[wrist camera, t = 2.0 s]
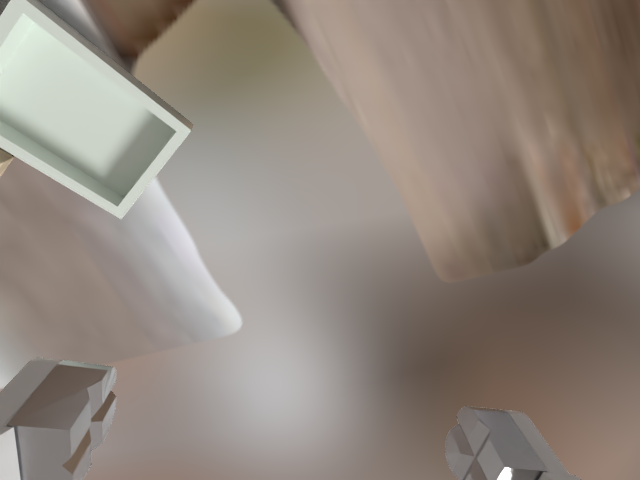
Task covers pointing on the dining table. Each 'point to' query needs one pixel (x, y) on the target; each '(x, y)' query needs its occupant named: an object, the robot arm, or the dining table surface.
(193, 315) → the dining table surface
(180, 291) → the dining table surface
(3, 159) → the square wooden frame
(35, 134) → the tray
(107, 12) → the dining table surface
